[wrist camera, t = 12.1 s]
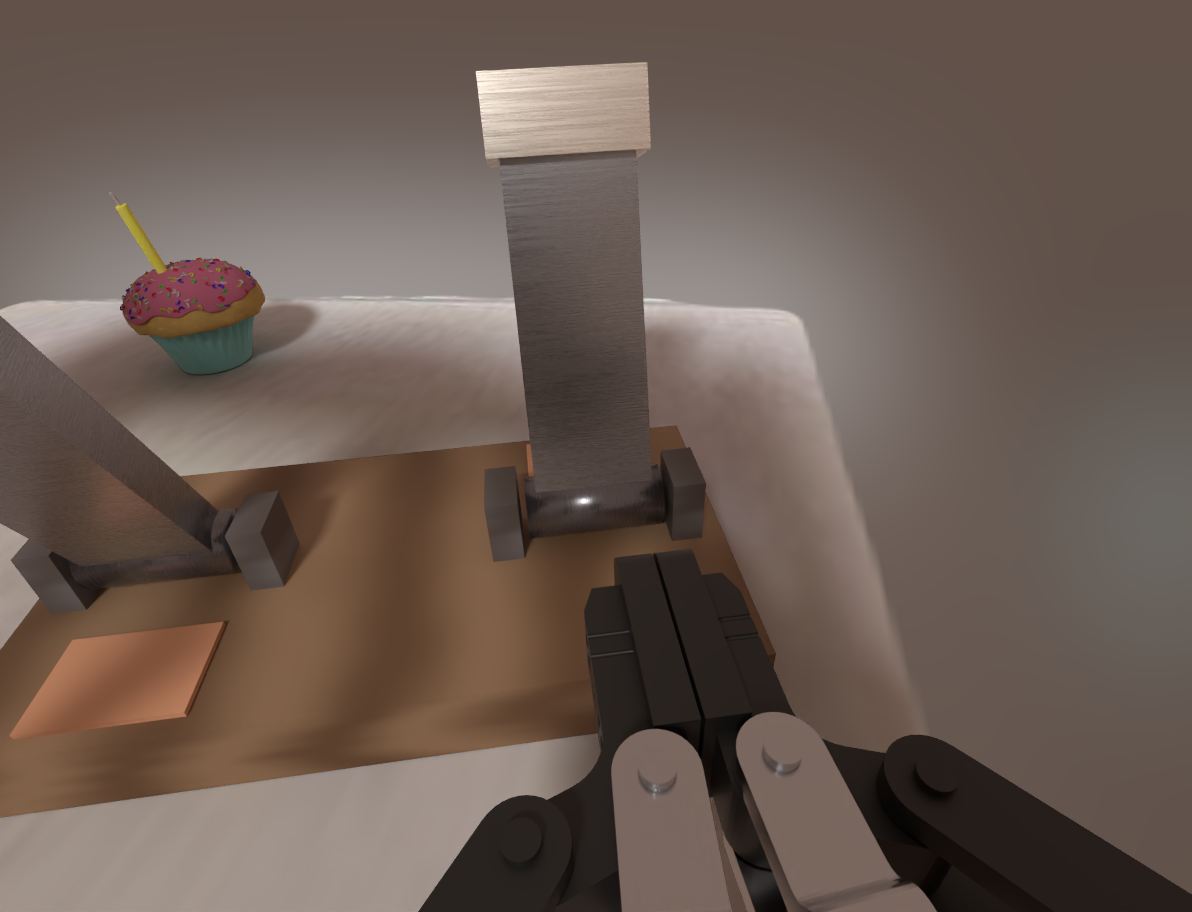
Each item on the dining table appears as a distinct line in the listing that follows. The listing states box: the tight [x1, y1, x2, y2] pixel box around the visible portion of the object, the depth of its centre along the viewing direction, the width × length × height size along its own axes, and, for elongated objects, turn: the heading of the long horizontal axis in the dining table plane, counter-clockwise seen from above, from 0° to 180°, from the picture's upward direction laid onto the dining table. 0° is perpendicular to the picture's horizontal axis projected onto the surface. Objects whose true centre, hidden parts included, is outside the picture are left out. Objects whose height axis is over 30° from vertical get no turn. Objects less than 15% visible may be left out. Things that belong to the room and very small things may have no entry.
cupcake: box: [109, 192, 265, 375], centre depth 44 cm, size 9×8×12 cm
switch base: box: [0, 426, 776, 817], centre depth 26 cm, size 26×14×6 cm, turn 97°
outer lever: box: [476, 62, 665, 539], centre depth 23 cm, size 5×2×16 cm, turn 97°
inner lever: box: [0, 316, 242, 589], centre depth 18 cm, size 5×2×16 cm, turn 97°
